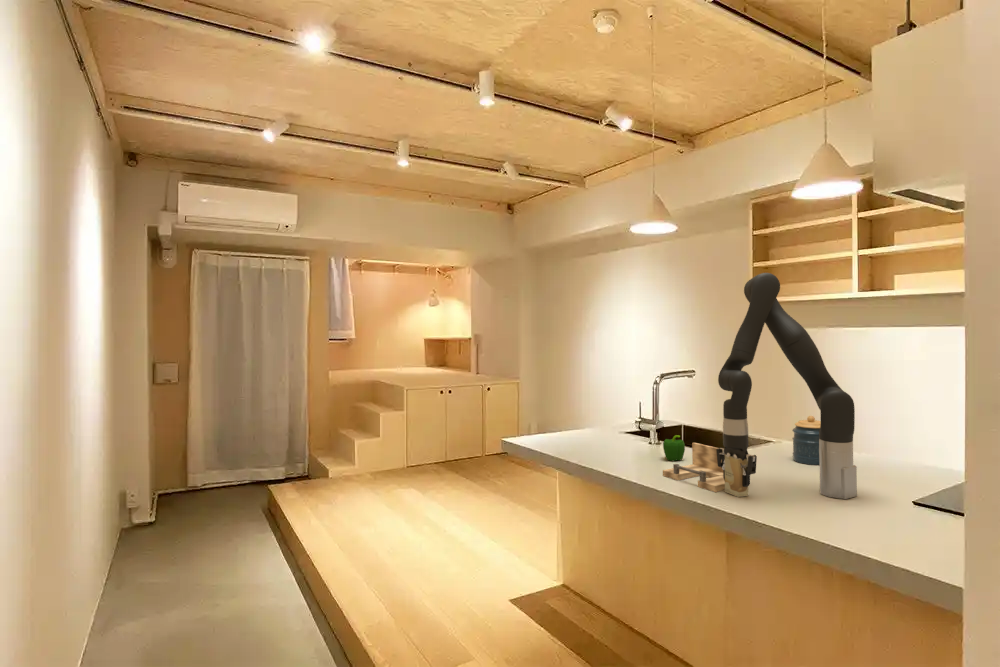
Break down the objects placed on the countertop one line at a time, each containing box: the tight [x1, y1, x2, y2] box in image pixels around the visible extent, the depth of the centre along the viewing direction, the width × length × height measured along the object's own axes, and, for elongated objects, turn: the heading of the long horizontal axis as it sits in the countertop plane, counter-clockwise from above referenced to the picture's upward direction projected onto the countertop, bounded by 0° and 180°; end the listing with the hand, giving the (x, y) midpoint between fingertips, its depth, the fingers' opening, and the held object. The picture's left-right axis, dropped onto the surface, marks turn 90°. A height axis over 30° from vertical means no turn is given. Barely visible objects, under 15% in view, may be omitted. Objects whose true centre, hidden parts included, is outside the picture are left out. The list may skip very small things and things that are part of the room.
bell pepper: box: [662, 434, 686, 462], centre depth 232 cm, size 8×8×10 cm
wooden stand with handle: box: [662, 442, 725, 493], centre depth 203 cm, size 24×16×10 cm, turn 28°
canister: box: [791, 415, 821, 466], centre depth 224 cm, size 13×13×18 cm
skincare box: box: [724, 455, 749, 498], centre depth 186 cm, size 6×4×12 cm
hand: (736, 483), depth 186 cm, fingers closed on skincare box, 6 cm apart
